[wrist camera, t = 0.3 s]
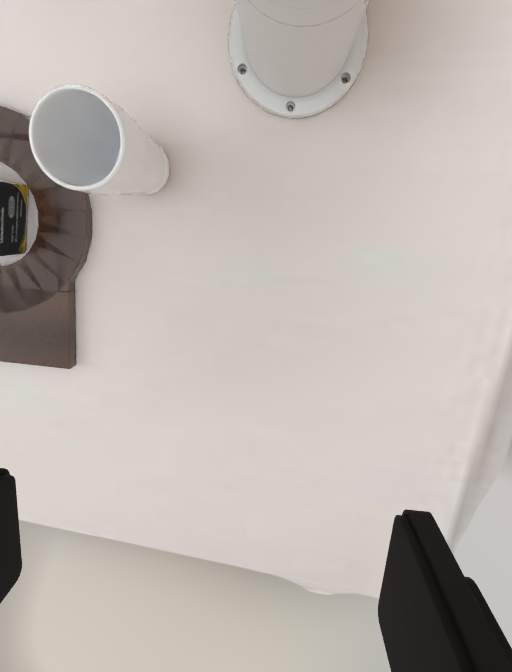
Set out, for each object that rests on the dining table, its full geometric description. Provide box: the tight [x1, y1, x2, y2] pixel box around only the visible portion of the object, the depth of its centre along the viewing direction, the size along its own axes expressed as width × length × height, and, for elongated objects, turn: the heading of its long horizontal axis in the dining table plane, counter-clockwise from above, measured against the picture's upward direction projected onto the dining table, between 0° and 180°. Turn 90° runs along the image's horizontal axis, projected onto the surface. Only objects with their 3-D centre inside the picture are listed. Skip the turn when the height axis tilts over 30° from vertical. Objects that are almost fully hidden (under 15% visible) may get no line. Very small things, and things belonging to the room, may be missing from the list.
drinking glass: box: [29, 84, 170, 196], centre depth 35 cm, size 7×7×15 cm
